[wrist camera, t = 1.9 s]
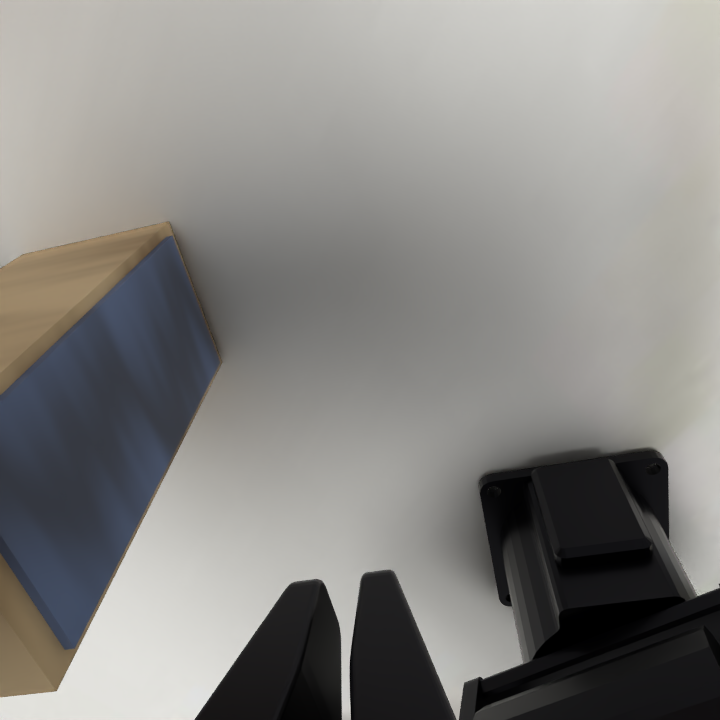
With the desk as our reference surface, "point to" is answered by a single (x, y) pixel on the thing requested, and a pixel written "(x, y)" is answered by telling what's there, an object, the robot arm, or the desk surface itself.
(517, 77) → the desk surface
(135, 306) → the oak block
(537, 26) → the desk surface
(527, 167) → the desk surface
